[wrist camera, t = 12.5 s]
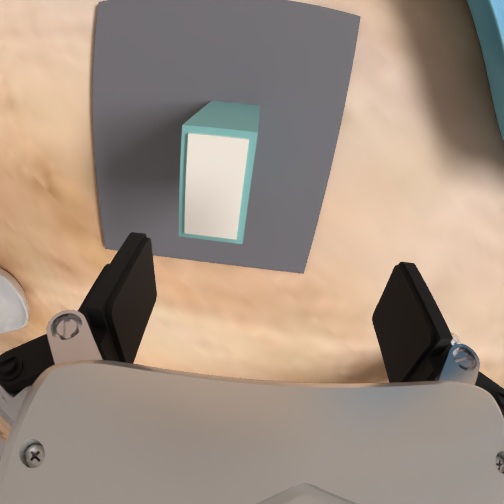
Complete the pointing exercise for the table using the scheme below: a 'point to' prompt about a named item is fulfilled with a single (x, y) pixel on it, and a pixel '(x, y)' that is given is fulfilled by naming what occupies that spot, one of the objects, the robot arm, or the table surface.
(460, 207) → the table surface
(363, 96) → the table surface
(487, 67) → the casserole dish
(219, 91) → the mat
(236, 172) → the teal rectangular block
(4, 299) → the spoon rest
